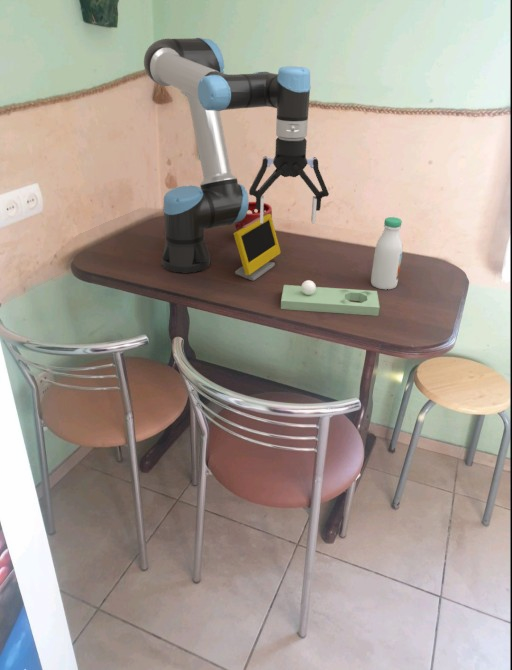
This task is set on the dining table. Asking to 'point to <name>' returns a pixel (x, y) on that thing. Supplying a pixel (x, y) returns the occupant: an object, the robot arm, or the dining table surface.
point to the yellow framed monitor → (257, 247)
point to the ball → (308, 287)
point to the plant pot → (253, 214)
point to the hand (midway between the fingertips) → (287, 222)
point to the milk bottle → (387, 256)
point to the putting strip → (331, 300)
